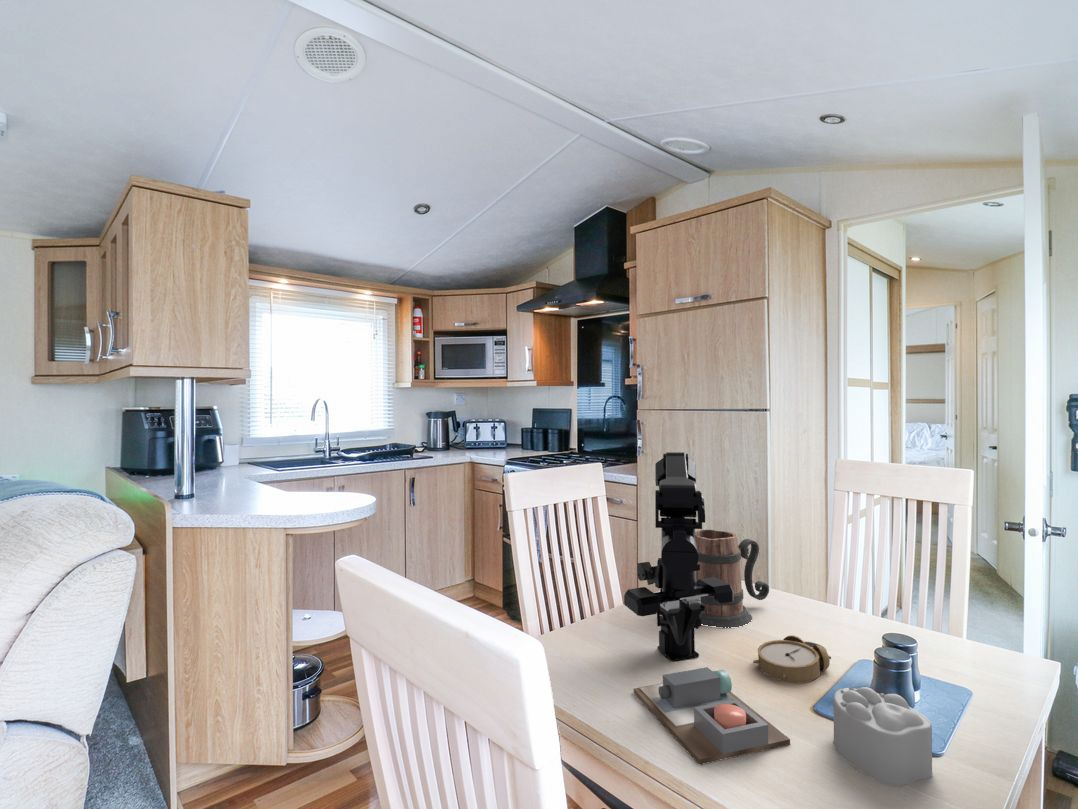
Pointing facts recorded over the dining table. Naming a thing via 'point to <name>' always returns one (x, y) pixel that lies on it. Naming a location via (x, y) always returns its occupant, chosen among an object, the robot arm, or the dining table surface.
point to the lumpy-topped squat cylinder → (882, 736)
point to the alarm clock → (792, 659)
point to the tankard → (727, 576)
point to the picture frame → (689, 735)
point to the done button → (729, 716)
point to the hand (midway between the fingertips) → (679, 643)
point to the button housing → (731, 729)
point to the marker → (694, 687)
